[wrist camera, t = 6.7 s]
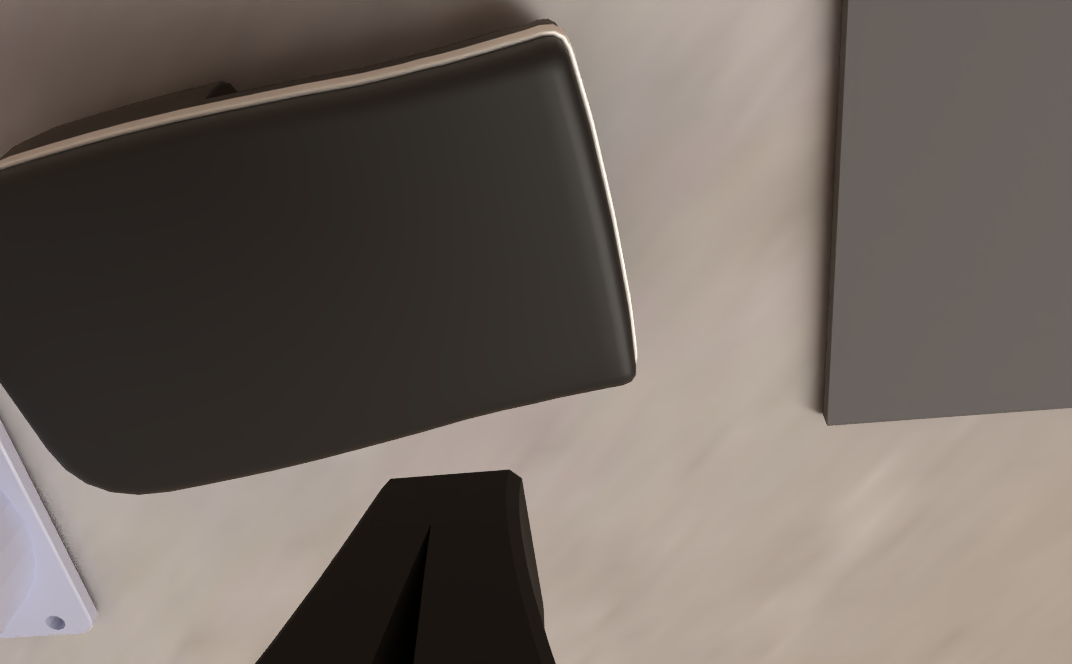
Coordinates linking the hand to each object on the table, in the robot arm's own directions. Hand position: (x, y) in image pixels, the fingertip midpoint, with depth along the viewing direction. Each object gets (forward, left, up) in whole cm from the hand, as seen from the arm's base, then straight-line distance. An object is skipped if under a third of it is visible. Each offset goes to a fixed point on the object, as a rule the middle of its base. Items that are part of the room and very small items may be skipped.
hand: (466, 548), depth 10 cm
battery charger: (+2, 0, -9) cm, 9 cm away
